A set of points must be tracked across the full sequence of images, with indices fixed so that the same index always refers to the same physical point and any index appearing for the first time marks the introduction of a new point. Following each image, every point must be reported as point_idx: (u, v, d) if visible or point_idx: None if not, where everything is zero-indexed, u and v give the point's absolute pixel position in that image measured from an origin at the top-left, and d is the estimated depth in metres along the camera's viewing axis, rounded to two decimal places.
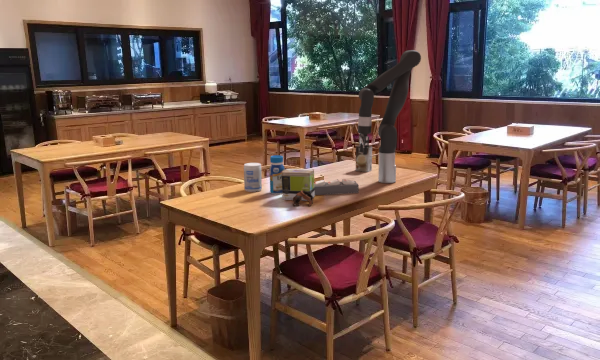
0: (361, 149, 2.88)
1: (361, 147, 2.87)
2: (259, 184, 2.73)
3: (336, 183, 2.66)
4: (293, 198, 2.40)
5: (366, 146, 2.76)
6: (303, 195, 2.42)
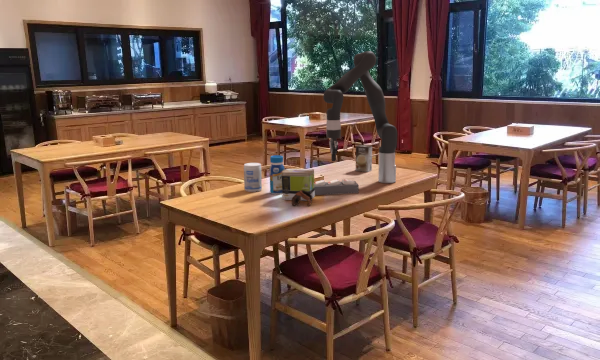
0: None
1: None
2: (259, 184, 2.73)
3: (336, 183, 2.66)
4: (292, 198, 2.40)
5: (334, 152, 2.61)
6: (302, 195, 2.42)
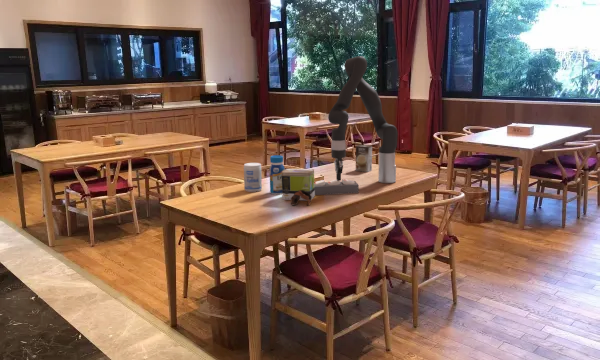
0: None
1: None
2: (259, 184, 2.73)
3: (336, 183, 2.66)
4: (292, 197, 2.41)
5: (339, 172, 2.64)
6: (301, 194, 2.43)
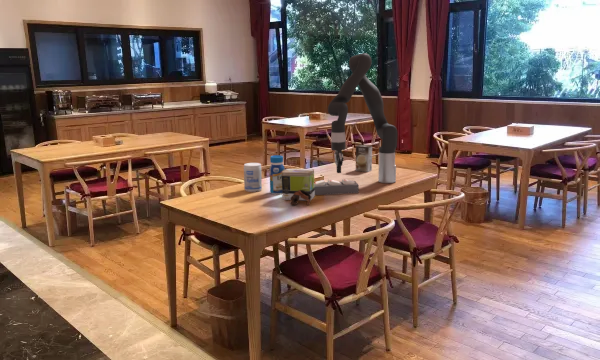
0: None
1: None
2: (259, 184, 2.73)
3: (336, 184, 2.66)
4: (291, 197, 2.41)
5: (339, 164, 2.63)
6: (301, 194, 2.43)
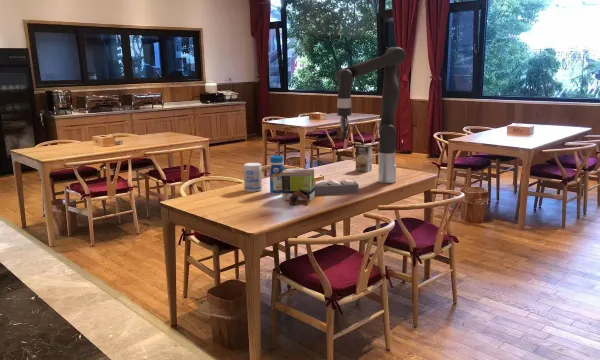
0: None
1: None
2: (259, 184, 2.73)
3: (336, 184, 2.66)
4: (290, 197, 2.42)
5: (345, 130, 2.71)
6: (300, 194, 2.44)
